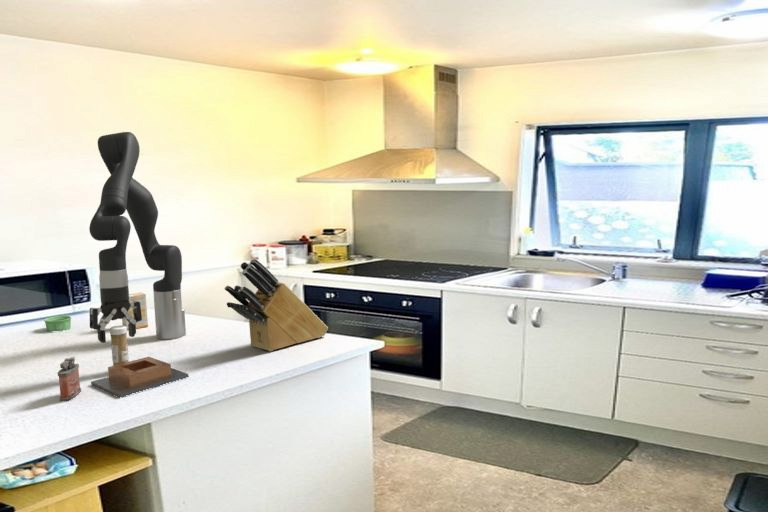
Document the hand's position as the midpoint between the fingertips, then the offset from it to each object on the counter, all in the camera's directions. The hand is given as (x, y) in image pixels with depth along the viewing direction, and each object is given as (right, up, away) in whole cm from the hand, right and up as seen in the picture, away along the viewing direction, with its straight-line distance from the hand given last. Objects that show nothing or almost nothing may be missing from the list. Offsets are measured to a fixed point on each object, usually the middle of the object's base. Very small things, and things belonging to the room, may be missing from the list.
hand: (117, 339), depth 169 cm
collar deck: (+10, -11, -7) cm, 16 cm away
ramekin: (-47, -4, +52) cm, 70 cm away
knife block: (+43, -6, +28) cm, 51 cm away
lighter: (-4, -12, -18) cm, 22 cm away
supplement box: (-18, -3, +53) cm, 56 cm away
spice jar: (0, -10, +1) cm, 10 cm away
